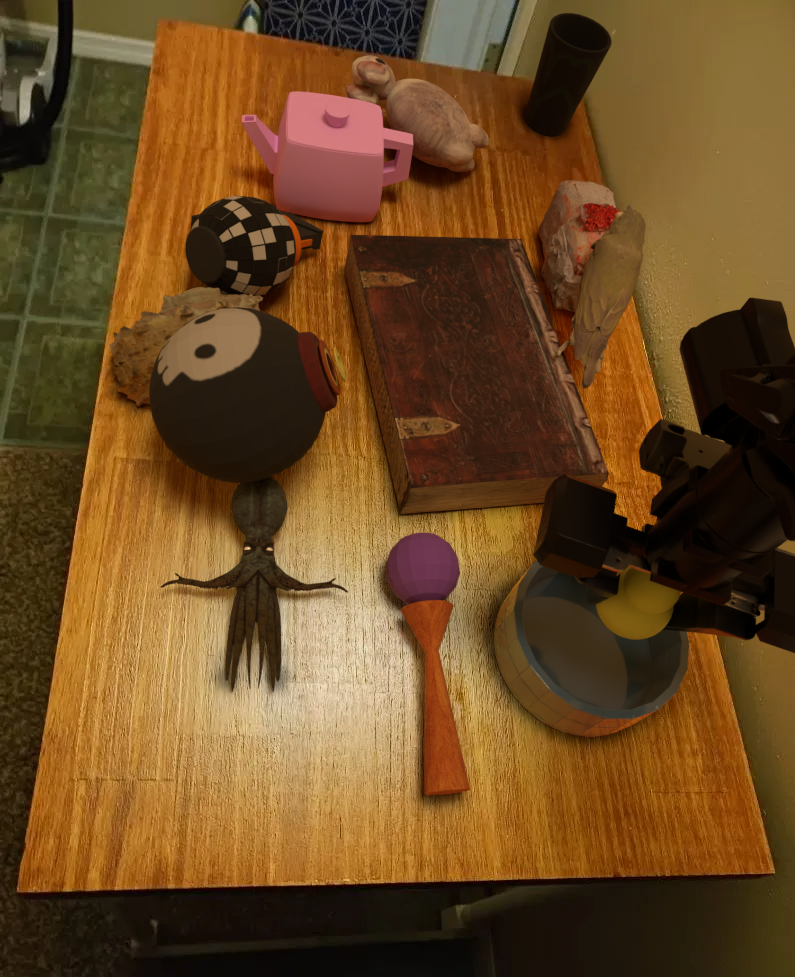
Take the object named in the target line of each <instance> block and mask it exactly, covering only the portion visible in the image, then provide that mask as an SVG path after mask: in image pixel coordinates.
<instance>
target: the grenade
mask: <svg viewBox="0 0 795 977" xmlns="http://www.w3.org/2000/svg"><path fill="white" fill-rule="evenodd" d="M190 218H191V220H190V229H189V232H188V233H187V235H186V236H187V237H186V240H185V251H184V252H185V257H186V263H187V264H188V267H189V270H190V271H191V273H192V274H193V276H194V277H195V278H196V279H197V280H198V281H200V282H201V283H202V284H203V285H205V287H206V288H209V287H211V288H219V289H220V293H221V294H223V295H235V294H237V295H241V294H246V295H250V294H251V295H253V296H258V295H260V296H261V297H262V298H264V297H265V296H267V295H269V294H272V293H273V292H275V291H276V290H279V289H280V287H282V286H283V285H284V284H285V283H286V281H287V280H288V279H289V278H290V276H291V274H292V271H293V269H294V268H295V267H296V265H297V264H298V262H299V260H300V258H301V255H302V250H309V249H313V250H316V251H317V250H321V245H322V240H323V235H324V230H323V229H321V228H319V227H318V226H316V225H314V224H313V223H310V222H309V221H307V220H305V219H303V218H301V217H299V216H298V215H297V214H293V213H290V212H289V213H288V212H285V211H281V210H279V209H278V208H277V206H276V205H274V204H272V203H269V202H268V201H267V200H265V199H260V198H258V197H254V196H246V195H244V196H243V195H230V196H227V197H224V198H221V199H218V200H215V201H213V202H211V203H210V204H209V205H208V206H206V207H205V208H204V209H203V210H202V211H201V212H200V213H199V214H193V215H191V217H190Z"/></svg>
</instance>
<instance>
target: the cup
mask: <svg viewBox="0 0 795 977" xmlns="http://www.w3.org/2000/svg"><path fill="white" fill-rule="evenodd" d="M612 43H613V41H612V36H611V34H610V33H609V31H608V30H607V29H606V28H605V27H604V26H603V25H602V24H601V23H600V22H598V21H596V20H594V19H593V18H591V17H588V16H586V15H582V14H580V13H574V12H562V13H559V14H557V15H554V16H553V17H552V18H551V19H550V22H549V25H548V28H547V31H546V35H545V39H544V43H543V47H542V50H541V54H540V57H539V62H538V66H537V69H536V73H535V76H534V80H533V84H532V88H531V92H530V94H529V99H528V103H527V106H526V110H525V113H524V120H525V123H526V124H527V125H528V127H529V128H530V129H531V130H533V131H534V132H536V133H538V134H540V135H543V136H548V137H557V136H561V135H562V134H564V133H565V132H566V130H567V128H568V126H569V124H570V122H571V120H572V119H573V117H574V115H575V114H576V111H577V109H578V107H579V105H580V104H581V102H582V100H583V98H584V96H585V95H586V93H587V91H588V89H589V88H590V86H591V83H592V82H593V80H594V79H595V76H596V74H597V72H598V71H599V69H600V67H601V65H602V63H603V62H604V59H605V58H606V56H607V54H608V52H609V51H610V48H611V47H612Z"/></svg>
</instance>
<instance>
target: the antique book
mask: <svg viewBox="0 0 795 977" xmlns="http://www.w3.org/2000/svg"><path fill="white" fill-rule="evenodd" d="M534 272H535V271H534V269H533V267H532V264H531V262H530V258H529V256H528V253H527V251H526V248H525V245H524V243H523V240H522V238H504V237H503V238H502V237H501V238H500V237H463V236H462V237H461V236H460V237H459V236H425V235H423V236H421V235H419V236H418V235H385V234H384V235H383V234H381V235H380V234H350V237H349V241H348V247H347V253H346V258H345V263H344V273H345V274H344V275H345V277H346V282H347V287H348V290H349V295H350V299H351V304H352V308H353V313H354V316H355V322H356V326H357V331H358V335H359V339H360V343H361V348H362V352H363V356H364V361H365V365H366V369H367V373H368V379H369V383H370V387H371V391H372V395H373V400H374V404H375V405H374V406H375V409H376V412H377V417H378V422H379V426H380V431H381V434H382V435H381V436H382V439H383V444H384V448H385V452H386V457H387V461H388V465H389V469H390V475H391V478H392V484H393V487H394V490H395V491H394V492H395V496H396V500H397V504H398V509H399V514H400V515H402V514H403V515H404V514H417V513H429V512H441V511H453V510H454V511H455V510H466V509H467V510H469V509H480V508H481V509H482V508H491V507H494V508H495V507H506V506H507V507H508V506H519V505H533V504H544V500H545V495H546V491H547V490H548V488H549V487H550V485H551V484H552V483H553V481H554V480H555V479H556V478H558V477H560V476H562V475H564V474H568V475H571V476H573V477H576V478H579V479H582V480H585V481H588V482H591V483H593V484H596V485H599V486H602V487H603V485H604V484H605V483H606V482H607V481H608V478H609V476H610V472H609V470H608V467H607V464H606V461H605V459H604V456H603V452H602V451H601V448H600V446H599V443H598V440H597V438H596V435H595V433H594V429H593V427H592V424H591V421H590V419H589V416H588V414H587V411H586V408H585V406H584V403H583V400H582V398H581V395H580V392H579V390H578V387H577V384H576V382H575V379H574V377H573V373H572V371H571V368H570V365H569V363H568V360H567V358H566V355H565V352H564V351H562V352H561V354H560V356H558V355H557V353H556V352H557V349H558V348H559V347H561V346H562V343H561V342H560V339H559V336H558V334H557V331H556V328H555V326H554V323H553V320H552V317H551V314H550V312H549V310H548V309H549V308H548V306H547V304H546V301H545V299H544V297H543V294H542V290H541V289H540V286H539V283H538V280H537V278H536V274H535V273H534Z"/></svg>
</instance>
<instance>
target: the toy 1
mask: <svg viewBox="0 0 795 977" xmlns="http://www.w3.org/2000/svg"><path fill="white" fill-rule="evenodd" d="M332 351H333V352H332V353H333V356H332V354H331V353H330V349H329V348H328V345H327V344H326V342H325V341H324V340H323V339H319V337H318V336H317V335H316V334H315V333H314V332H312V331H303V332H299V330H298V329H296V328H295V327H294V326H292V325H291V324H289V323H288V322H286V321H285V320H283V319H281V318H279V317H277V316H275V315H272V314H270V313H268V312H265V311H263V310H260V311H259V310H255V309H251V308H240V307H231V308H221V309H217V310H213V311H209V312H207V313H204V314H202V315H199V316H197V317H195V318H194V319H192V320H191V321H189V322H188V323H186V324H185V325H184V326H183V327H181V328H180V329H179V330H178V331H177V332H176V333H175V334H174V335H173V336H172V337H171V338H170V339H169V340H168V341H167V342H166V344H165V345H164V346H163V348H162V349H161V351H160V353H159V355H158V357H157V359H156V361H155V364H154V368H153V371H152V375H151V380H150V389H149V398H150V405H149V406H150V412H151V417H152V420H153V423H154V425H155V426H154V427H155V428H156V430H157V433H158V434H159V436H160V438H161V440H162V441H163V443H164V445H165V446H166V447H167V449H168V450H169V451H170V452H171V453H172V454H173V455H174V456H175V457H176V458H177V459H178V460H179V461H180V462H181V463H182V464H184V465H185V466H187V467H188V468H190V469H191V470H193V471H195V472H197V473H198V474H201V475H203V476H205V477H207V478H208V479H212V480H216V481H220V482H223V483H231V484H240V483H249V482H254V481H259V480H263V479H266V478H268V477H271V476H272V477H273V476H275V475H279V474H281V473H283V472H285V471H286V470H288V469H289V468H292V467H293V466H294V465H295V464H296V463H298V462H299V461H301V460H302V458H304V457H305V455H307V453H308V452H309V451H310V449H312V447H313V445H314V444H315V442H316V440H317V439H318V437H319V435H320V432H321V430H322V428H323V425H324V423H325V422H324V421H325V418H326V413H328V412H330V411H331V410H333V409H334V408H336V407H337V406H338V396H340V395H341V391H342V390H341V384H340V380H339V377H338V373H339V375H340V377H341V380H342V381H343V382H346V381H347V375H346V370H345V367H344V364H343V361H342V358H341V355H340V353H339V350H338V349H337V348H336V347H333V350H332ZM333 357H334V360H333ZM334 361H335V363H334ZM336 367H337V369H336ZM337 370H338V372H337Z"/></svg>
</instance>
